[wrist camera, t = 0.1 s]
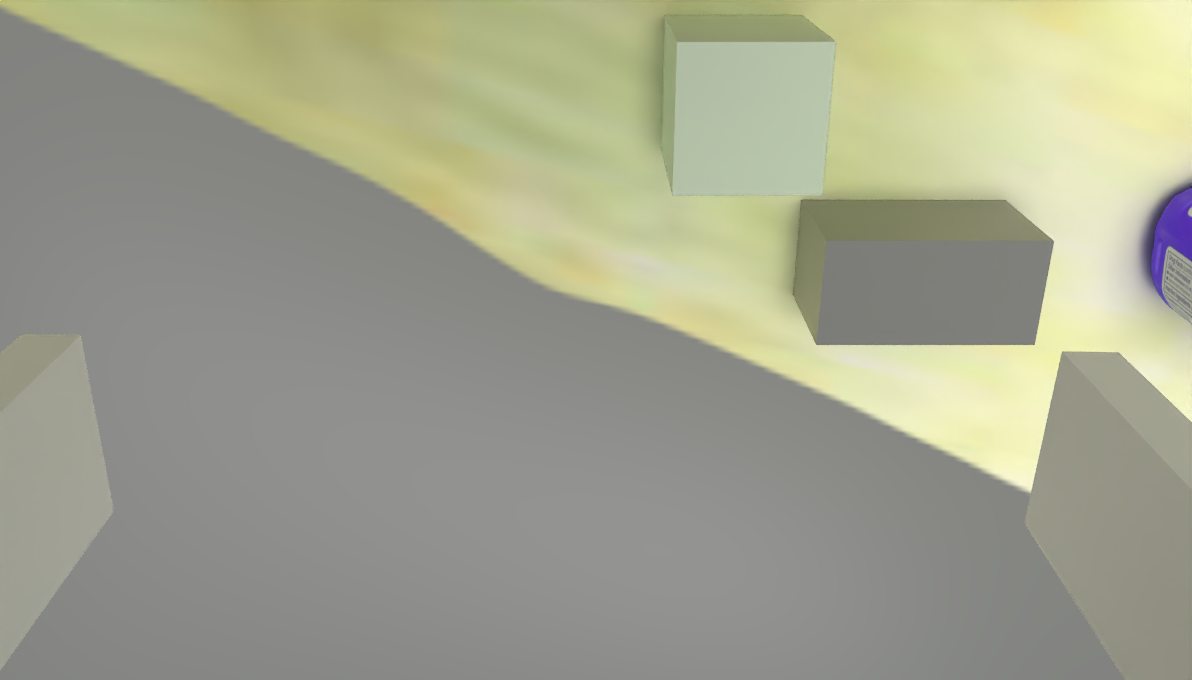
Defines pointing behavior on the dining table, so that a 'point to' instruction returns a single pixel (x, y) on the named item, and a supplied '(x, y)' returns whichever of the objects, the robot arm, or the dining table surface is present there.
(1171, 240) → the bottle
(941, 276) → the charcoal block
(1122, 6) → the dining table surface
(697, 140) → the sage block
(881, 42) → the dining table surface
